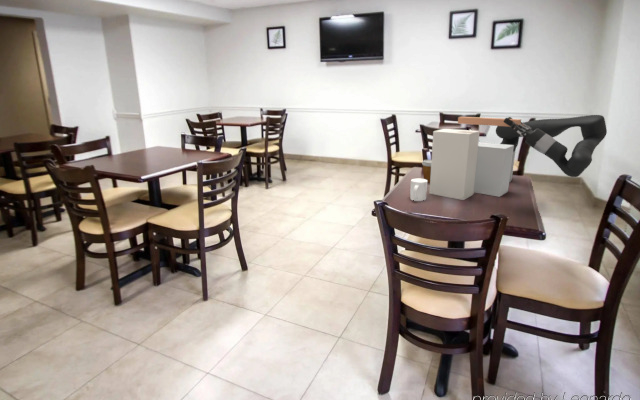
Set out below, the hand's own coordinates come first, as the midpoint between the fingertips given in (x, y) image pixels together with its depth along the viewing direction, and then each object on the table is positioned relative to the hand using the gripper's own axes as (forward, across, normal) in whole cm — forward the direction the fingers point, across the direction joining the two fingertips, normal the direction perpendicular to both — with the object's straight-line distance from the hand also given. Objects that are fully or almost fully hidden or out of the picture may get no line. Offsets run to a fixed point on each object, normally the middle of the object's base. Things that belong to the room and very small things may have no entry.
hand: (506, 119), depth 170 cm
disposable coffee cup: (+17, -15, +55) cm, 60 cm away
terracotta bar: (+5, 0, +6) cm, 8 cm away
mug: (+8, +18, +50) cm, 53 cm away
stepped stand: (-5, -8, +42) cm, 43 cm away
